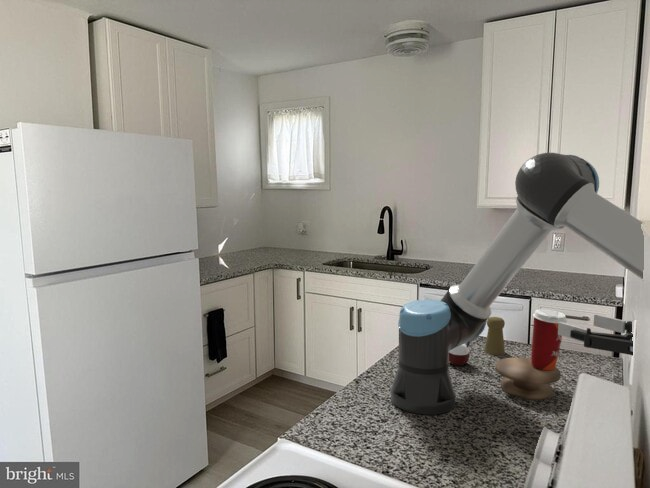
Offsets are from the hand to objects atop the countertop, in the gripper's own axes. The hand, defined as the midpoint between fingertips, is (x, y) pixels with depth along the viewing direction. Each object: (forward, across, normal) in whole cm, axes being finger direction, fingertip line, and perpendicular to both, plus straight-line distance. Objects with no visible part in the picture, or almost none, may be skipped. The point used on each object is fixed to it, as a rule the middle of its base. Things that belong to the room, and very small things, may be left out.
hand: (577, 323), depth 103 cm
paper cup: (+10, +4, -14) cm, 18 cm away
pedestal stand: (+12, 0, -20) cm, 23 cm away
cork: (+34, +16, -21) cm, 43 cm away
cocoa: (+33, -2, -21) cm, 39 cm away
